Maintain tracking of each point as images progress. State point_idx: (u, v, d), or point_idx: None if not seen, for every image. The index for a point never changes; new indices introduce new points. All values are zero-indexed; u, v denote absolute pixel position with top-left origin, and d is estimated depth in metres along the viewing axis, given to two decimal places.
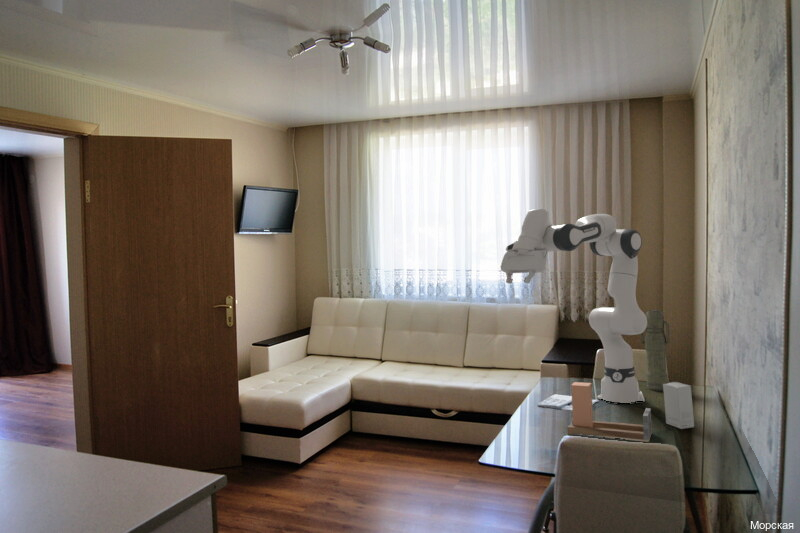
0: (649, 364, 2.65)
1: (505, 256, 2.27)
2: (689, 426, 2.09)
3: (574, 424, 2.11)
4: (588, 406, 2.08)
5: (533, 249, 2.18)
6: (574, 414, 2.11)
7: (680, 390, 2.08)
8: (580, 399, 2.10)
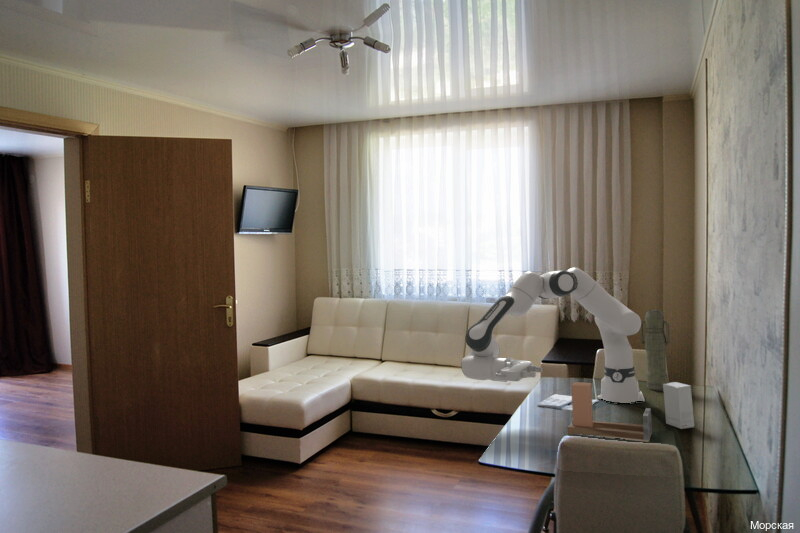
0: (649, 364, 2.65)
1: None
2: (689, 426, 2.09)
3: (574, 424, 2.11)
4: (588, 406, 2.08)
5: None
6: (574, 414, 2.11)
7: (680, 390, 2.08)
8: (580, 399, 2.10)
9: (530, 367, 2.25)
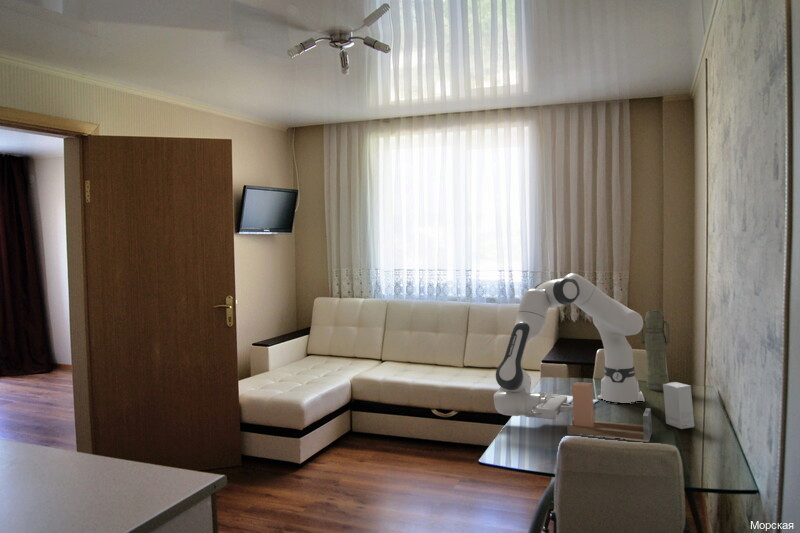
0: (649, 364, 2.65)
1: None
2: (689, 426, 2.09)
3: (575, 424, 2.11)
4: (589, 406, 2.08)
5: None
6: (575, 414, 2.11)
7: (680, 390, 2.08)
8: (581, 399, 2.09)
9: (562, 405, 2.16)
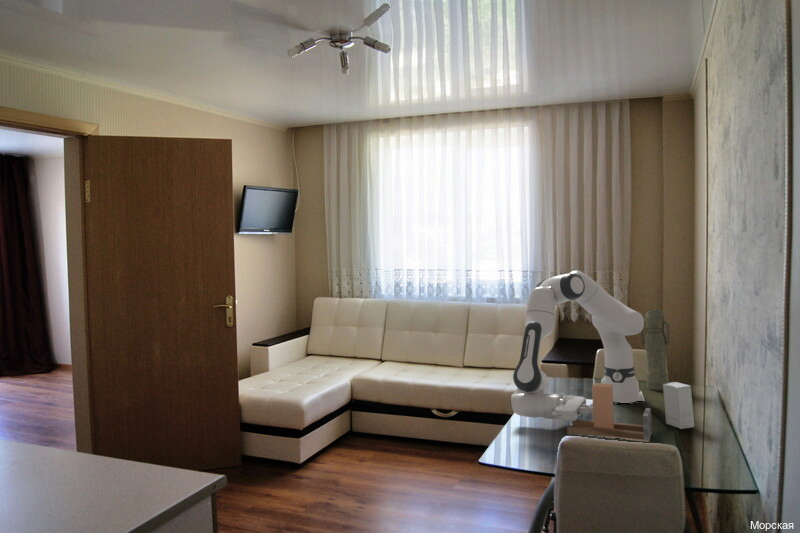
0: (649, 364, 2.65)
1: None
2: (689, 426, 2.09)
3: (595, 426, 2.08)
4: (609, 408, 2.05)
5: None
6: (595, 416, 2.07)
7: (680, 390, 2.08)
8: (601, 400, 2.06)
9: (582, 406, 2.13)
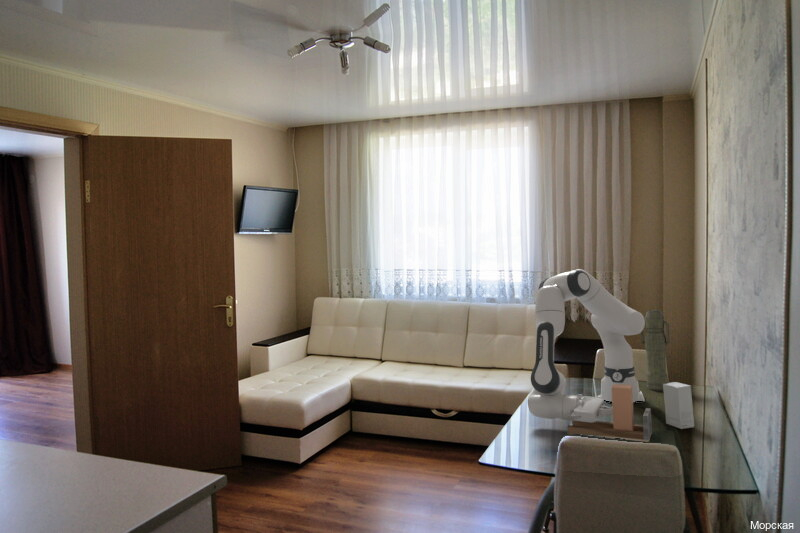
0: (649, 364, 2.65)
1: None
2: (689, 426, 2.09)
3: (615, 428, 2.04)
4: (630, 409, 2.02)
5: None
6: (615, 417, 2.04)
7: (680, 390, 2.08)
8: (621, 402, 2.03)
9: (600, 408, 2.10)
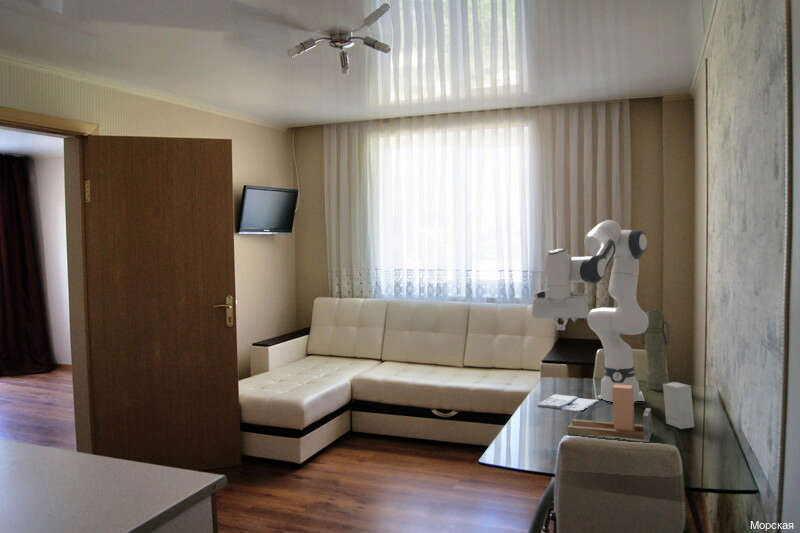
0: (649, 364, 2.65)
1: (535, 303, 2.23)
2: (689, 426, 2.09)
3: (615, 428, 2.04)
4: (630, 409, 2.02)
5: (570, 295, 2.18)
6: (615, 417, 2.04)
7: (680, 390, 2.08)
8: (621, 402, 2.03)
9: (557, 317, 2.22)
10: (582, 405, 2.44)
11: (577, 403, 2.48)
